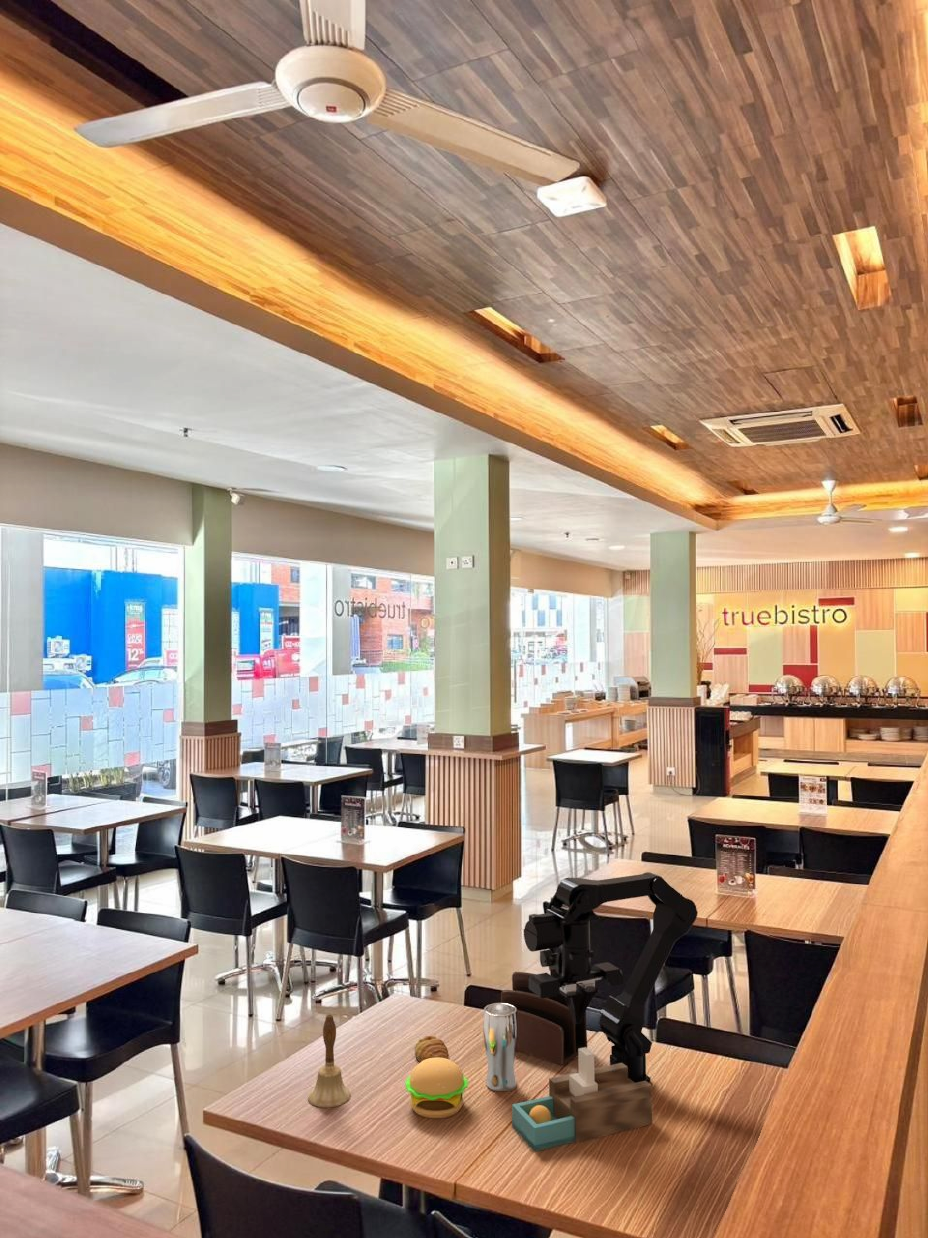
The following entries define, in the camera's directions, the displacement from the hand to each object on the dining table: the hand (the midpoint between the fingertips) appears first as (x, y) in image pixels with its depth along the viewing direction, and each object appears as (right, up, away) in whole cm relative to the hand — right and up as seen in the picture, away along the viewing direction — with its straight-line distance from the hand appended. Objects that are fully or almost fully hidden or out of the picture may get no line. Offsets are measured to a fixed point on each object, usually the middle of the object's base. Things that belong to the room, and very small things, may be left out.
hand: (576, 1023), depth 181 cm
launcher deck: (+3, -13, -12) cm, 18 cm away
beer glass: (-15, -13, +2) cm, 20 cm away
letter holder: (-6, -14, +20) cm, 25 cm away
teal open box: (-8, -13, -17) cm, 23 cm away
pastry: (-29, -14, +14) cm, 35 cm away
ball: (-9, -10, -17) cm, 21 cm away
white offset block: (0, -7, -13) cm, 15 cm away
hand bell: (-49, -14, -3) cm, 51 cm away
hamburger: (-28, -13, -7) cm, 31 cm away
